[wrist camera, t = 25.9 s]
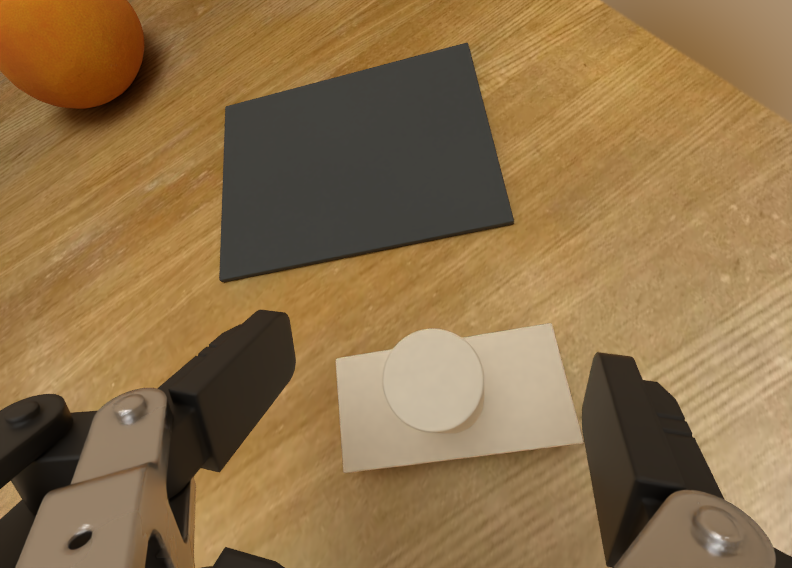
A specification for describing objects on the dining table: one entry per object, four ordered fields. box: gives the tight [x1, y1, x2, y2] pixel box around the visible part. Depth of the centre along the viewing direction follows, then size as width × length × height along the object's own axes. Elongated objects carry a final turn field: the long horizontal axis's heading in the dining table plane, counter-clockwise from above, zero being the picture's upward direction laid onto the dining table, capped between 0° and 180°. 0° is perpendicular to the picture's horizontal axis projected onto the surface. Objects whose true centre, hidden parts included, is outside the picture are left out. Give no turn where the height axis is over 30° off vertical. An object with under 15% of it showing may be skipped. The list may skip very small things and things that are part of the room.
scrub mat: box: [219, 43, 514, 282], centre depth 27 cm, size 18×14×1 cm
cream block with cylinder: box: [336, 323, 584, 473], centre depth 17 cm, size 10×5×10 cm, turn 97°
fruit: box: [0, 0, 144, 109], centre depth 31 cm, size 10×10×8 cm
